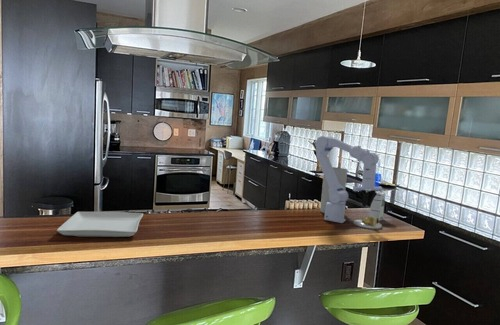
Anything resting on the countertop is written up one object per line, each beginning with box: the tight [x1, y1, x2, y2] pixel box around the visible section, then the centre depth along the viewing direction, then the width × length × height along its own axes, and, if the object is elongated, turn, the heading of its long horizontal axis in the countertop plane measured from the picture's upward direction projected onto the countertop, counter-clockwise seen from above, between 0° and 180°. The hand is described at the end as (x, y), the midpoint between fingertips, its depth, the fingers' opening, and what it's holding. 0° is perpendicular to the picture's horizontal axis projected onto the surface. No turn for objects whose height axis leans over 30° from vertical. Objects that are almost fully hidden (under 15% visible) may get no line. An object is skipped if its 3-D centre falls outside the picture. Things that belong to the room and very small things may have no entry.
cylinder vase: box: [319, 166, 348, 214], centre depth 195 cm, size 12×12×25 cm
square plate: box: [56, 211, 144, 238], centre depth 139 cm, size 27×27×4 cm
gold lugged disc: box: [361, 215, 377, 226], centre depth 172 cm, size 8×8×4 cm
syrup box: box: [368, 192, 386, 222], centre depth 188 cm, size 6×6×14 cm
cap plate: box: [353, 218, 383, 230], centre depth 173 cm, size 13×13×4 cm
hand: (366, 206), depth 168 cm, fingers closed
